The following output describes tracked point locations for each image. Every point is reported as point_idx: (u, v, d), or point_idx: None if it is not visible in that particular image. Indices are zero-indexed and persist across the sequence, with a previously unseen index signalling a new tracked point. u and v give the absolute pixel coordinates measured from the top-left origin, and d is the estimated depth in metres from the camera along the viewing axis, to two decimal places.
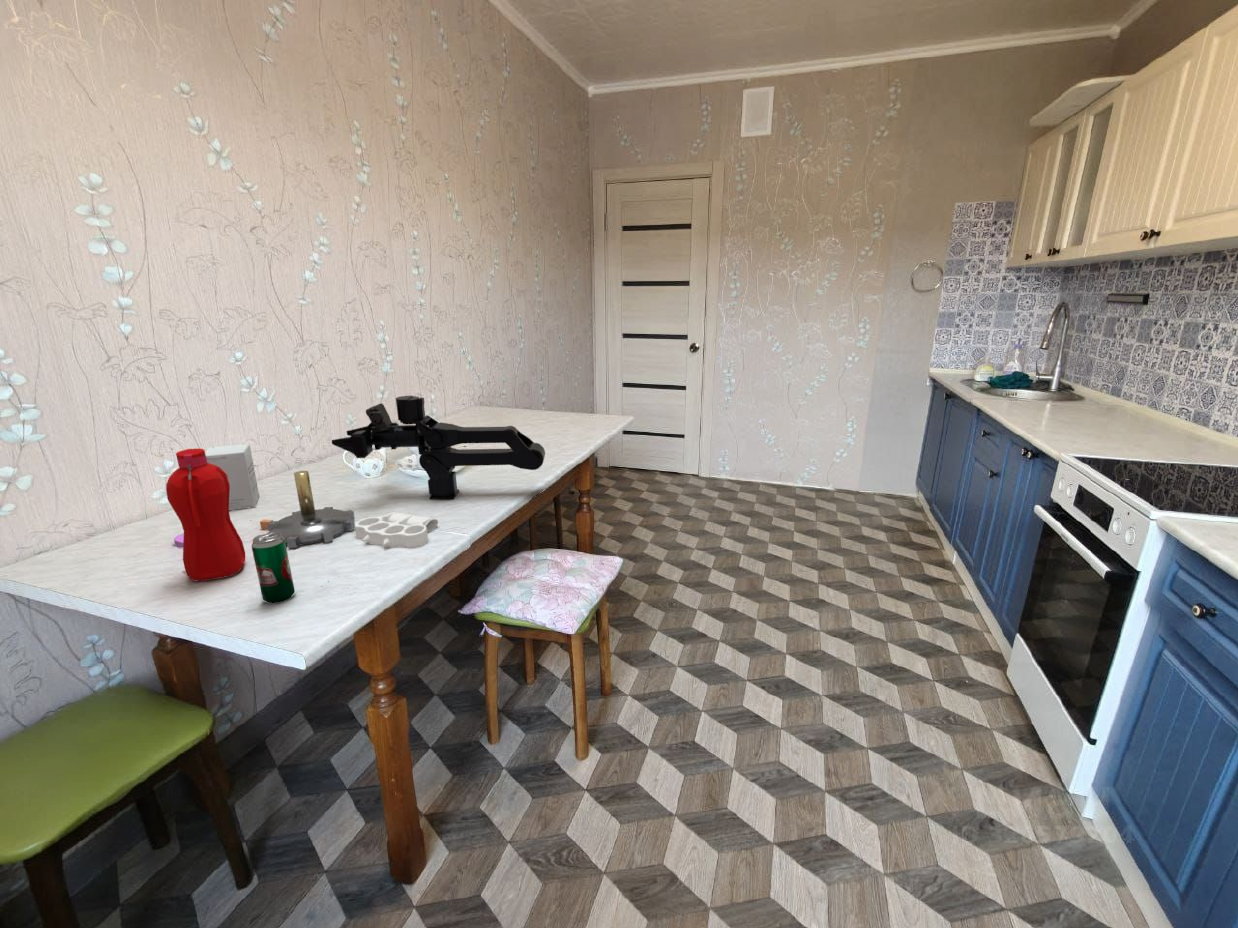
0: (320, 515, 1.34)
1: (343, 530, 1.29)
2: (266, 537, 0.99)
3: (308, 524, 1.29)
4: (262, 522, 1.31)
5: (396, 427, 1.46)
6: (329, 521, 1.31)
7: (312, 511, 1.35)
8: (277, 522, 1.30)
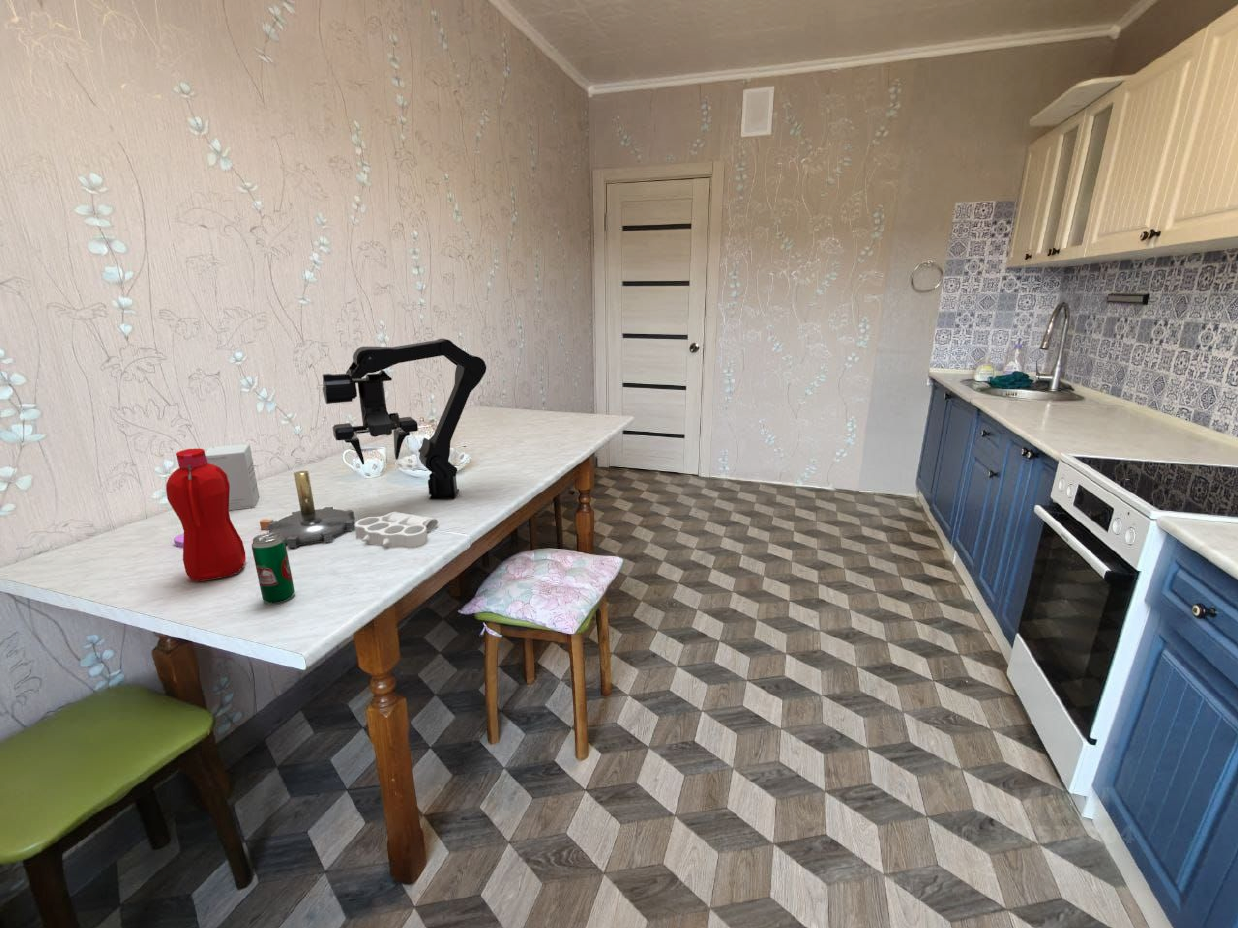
0: (320, 515, 1.34)
1: (343, 530, 1.29)
2: (266, 537, 0.99)
3: (308, 524, 1.29)
4: (262, 522, 1.31)
5: (379, 403, 1.36)
6: (329, 521, 1.31)
7: (312, 511, 1.35)
8: (277, 522, 1.30)
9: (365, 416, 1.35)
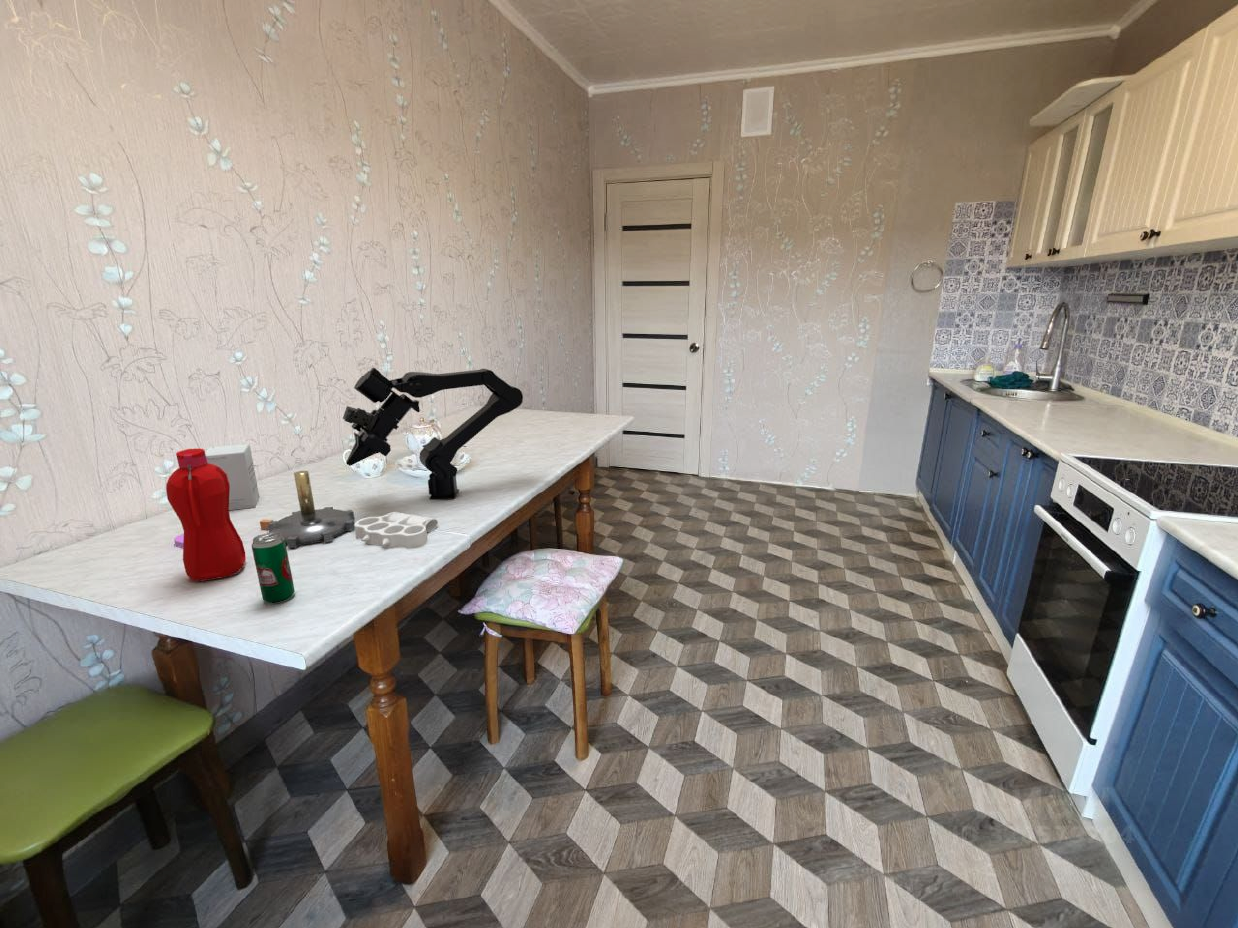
0: (320, 515, 1.34)
1: (343, 530, 1.29)
2: (266, 537, 0.99)
3: (308, 524, 1.29)
4: (262, 522, 1.31)
5: (380, 410, 1.38)
6: (329, 521, 1.31)
7: (312, 511, 1.35)
8: (277, 522, 1.30)
9: None
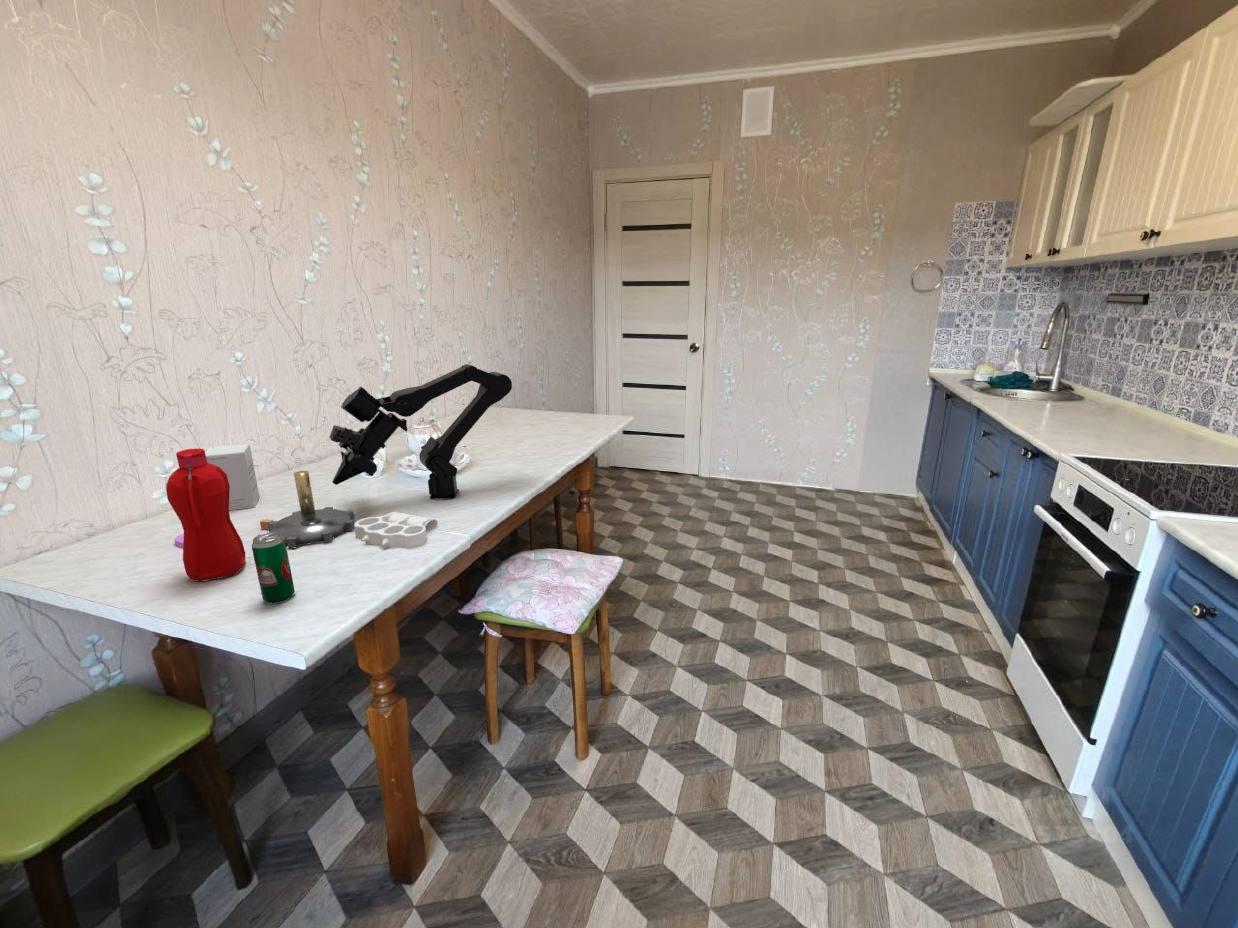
0: (320, 515, 1.34)
1: (343, 530, 1.29)
2: (266, 537, 0.99)
3: (308, 524, 1.29)
4: (262, 522, 1.31)
5: (367, 429, 1.38)
6: (329, 521, 1.31)
7: (312, 511, 1.35)
8: (277, 522, 1.30)
9: None
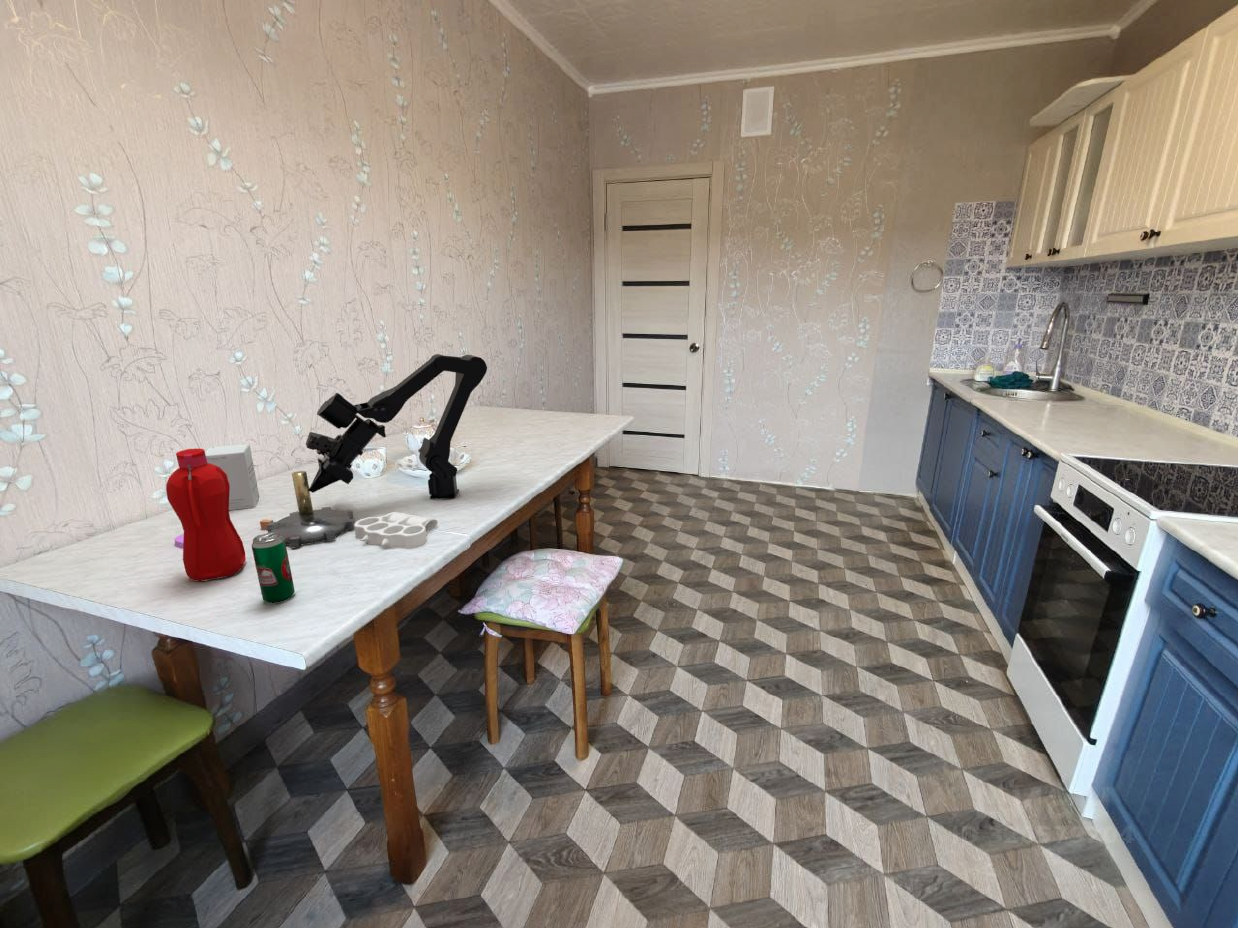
0: (319, 515, 1.34)
1: (344, 529, 1.30)
2: (266, 537, 0.99)
3: (308, 524, 1.29)
4: (262, 522, 1.31)
5: (344, 436, 1.35)
6: (330, 521, 1.31)
7: (310, 511, 1.35)
8: (276, 523, 1.30)
9: None
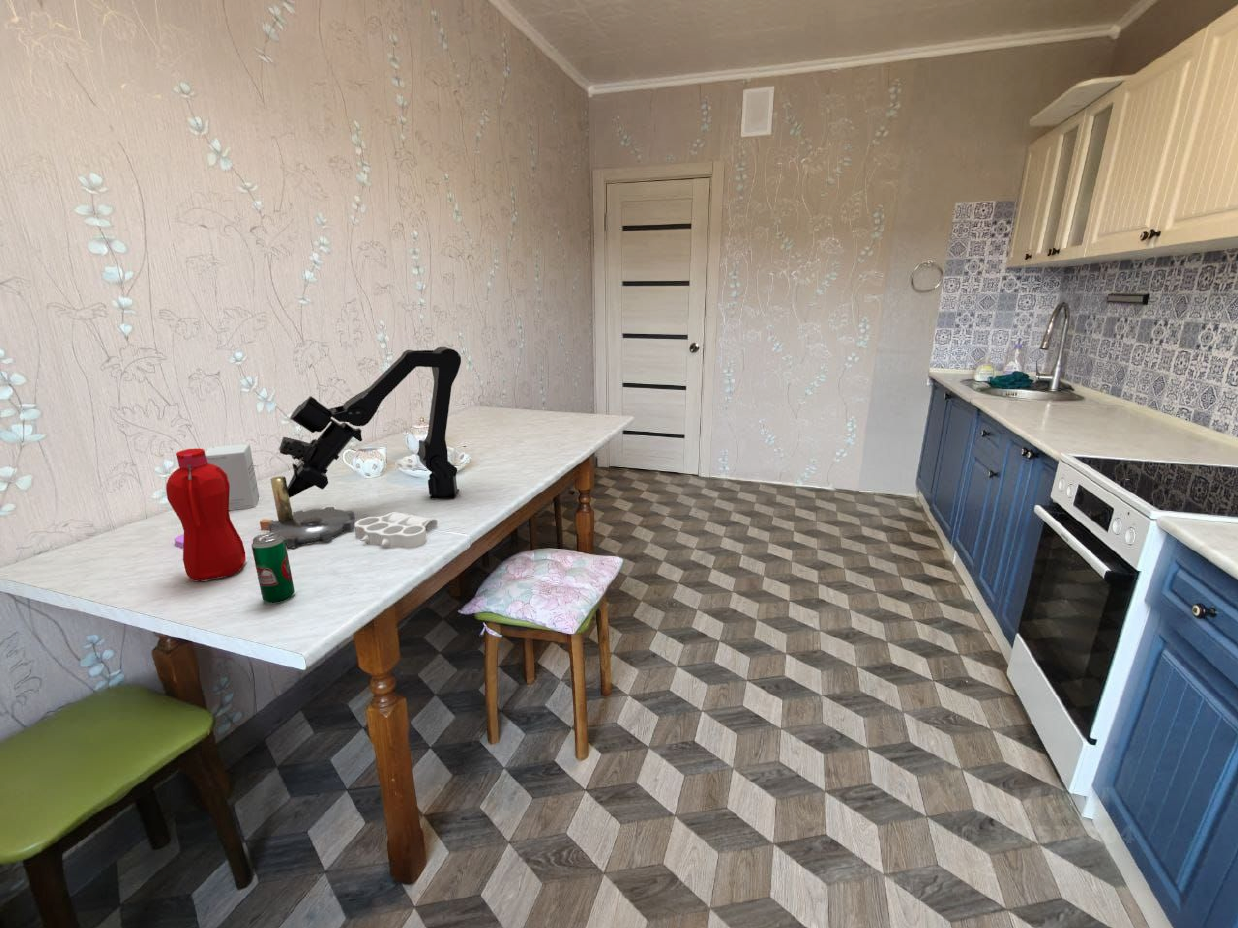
0: (308, 517, 1.33)
1: None
2: (266, 537, 0.99)
3: (314, 523, 1.29)
4: (262, 522, 1.31)
5: (319, 440, 1.32)
6: (329, 516, 1.33)
7: (292, 516, 1.32)
8: (274, 531, 1.25)
9: None
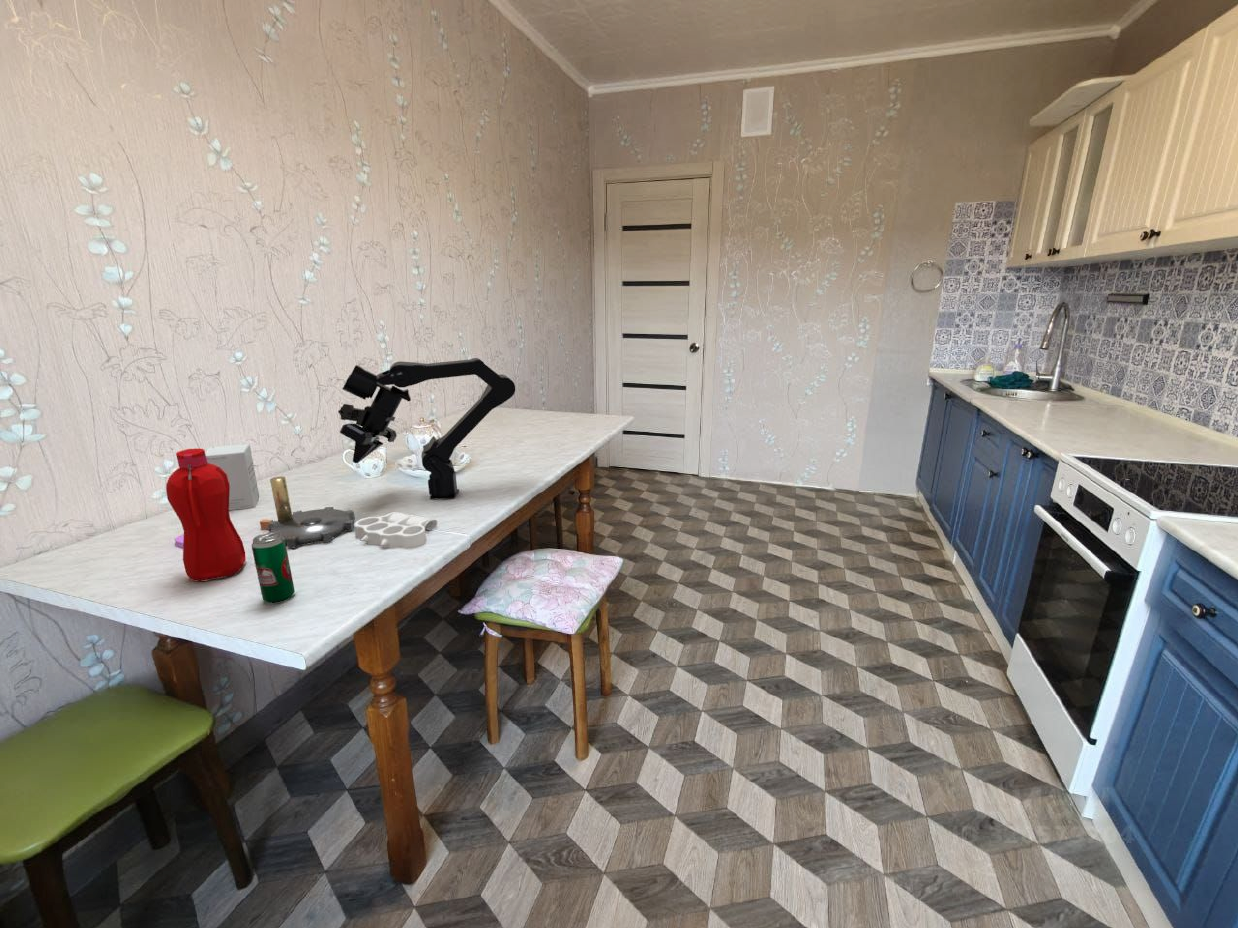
0: (308, 517, 1.33)
1: None
2: (266, 537, 0.99)
3: (314, 523, 1.29)
4: (262, 522, 1.31)
5: (371, 404, 1.41)
6: (329, 516, 1.33)
7: (292, 516, 1.32)
8: (274, 531, 1.25)
9: None
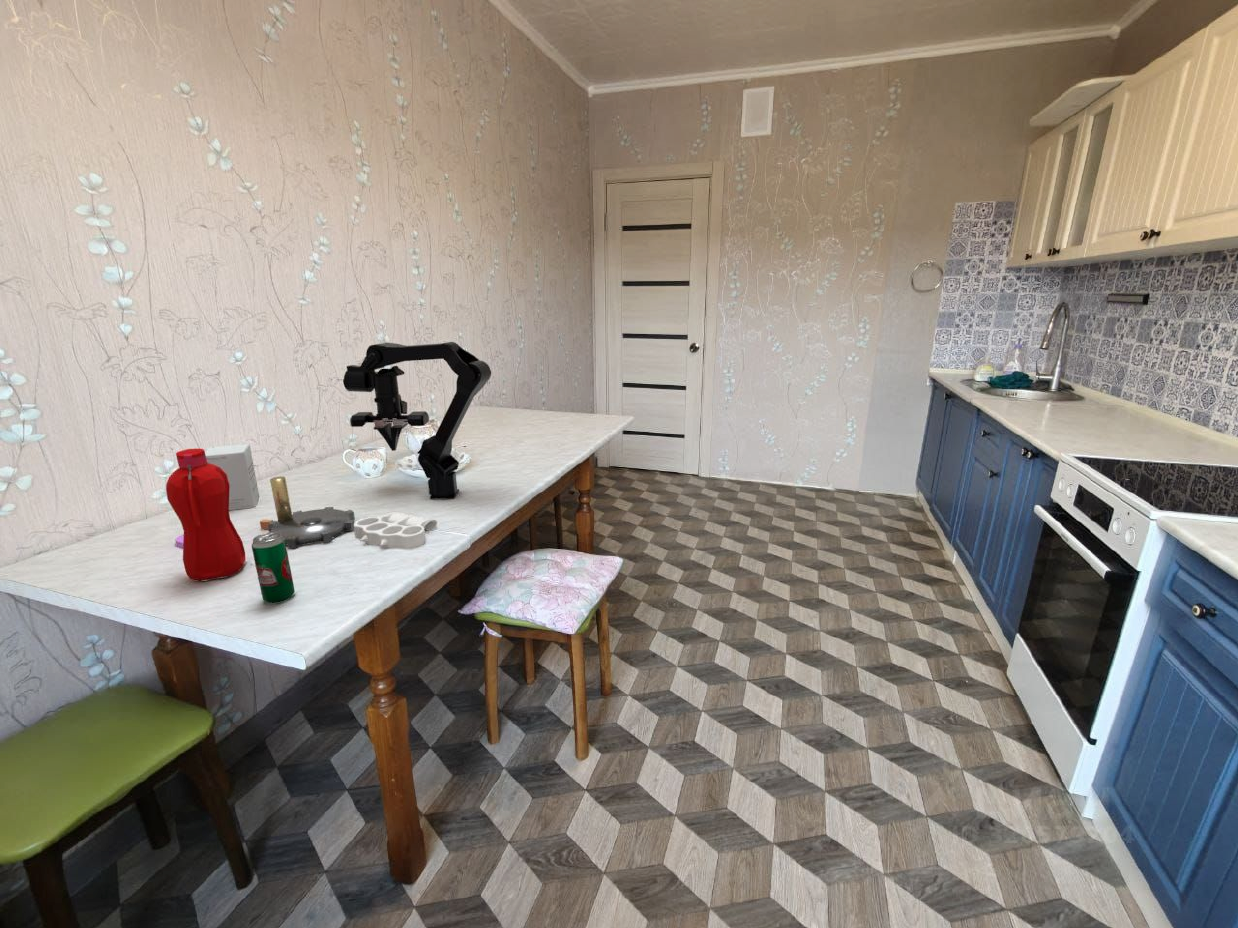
0: (308, 517, 1.33)
1: None
2: (266, 537, 0.99)
3: (314, 523, 1.29)
4: (262, 522, 1.31)
5: None
6: (329, 516, 1.33)
7: (292, 516, 1.32)
8: (274, 531, 1.25)
9: None
